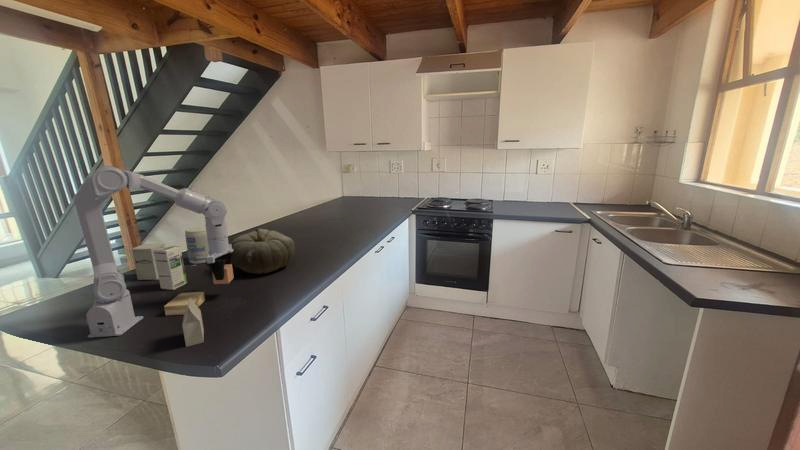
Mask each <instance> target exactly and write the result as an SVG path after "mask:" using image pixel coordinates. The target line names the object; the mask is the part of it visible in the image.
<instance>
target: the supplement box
mask: <svg viewBox="0 0 800 450" xmlns="http://www.w3.org/2000/svg"><path fill="white" fill-rule="evenodd" d="M164 247H166V246H165V243H142V244H140V245H139V246H135V247H132V248H131V253H132V257H133V263H134V266H135V268H134V269H135V272H136V278H137V280H138V281H140V280H142V281H144V280H146V281H147V280H148V281H149V280H150V281H151V280H155V281H157V280H159V277H158V272H157V268H156V263H155V258H154V253H153V251H154V250H157V249H160V248H164Z"/></svg>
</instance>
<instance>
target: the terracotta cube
mask: <svg viewBox="0 0 800 450" xmlns="http://www.w3.org/2000/svg"><path fill="white" fill-rule="evenodd" d="M211 273H212V280H213V284H214V285H223V284H224V285H226V284H230V283H231V281H232V280H233V279H234V269H233V264H232V263H231V264H226V265H225V266H224V279H223V280H216V279H215V277H214V274H213V272H212V271H211Z"/></svg>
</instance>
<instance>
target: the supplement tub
mask: <svg viewBox="0 0 800 450" xmlns="http://www.w3.org/2000/svg"><path fill="white" fill-rule="evenodd" d="M184 233H185V234H184V235H185V236H184V237H185V243H186V250H187V256H188V262H189V263H190V264H193V265H197V264H204V263H205V264H206V262H205V261H206V257H207V256H208V252H209V246H208V239H207V232H206V226H195V227H189V228H187V229H185V230H184Z"/></svg>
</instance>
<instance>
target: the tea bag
mask: <svg viewBox="0 0 800 450" xmlns="http://www.w3.org/2000/svg"><path fill="white" fill-rule="evenodd" d="M202 317H203V316H202V311H201V309H200V308H199V307H197V306H196V305H195V304H194V302H193V301H192V300H191V298H190V299H189V301H188V305H187V307H186V310H185V312H184V314H183V318H182V331H183V337H184V342H185V347H186V348H187V347H190V346H194V345H197V344H198V345H199V344H201V343H204V334H205V329H204V323H203V318H202Z"/></svg>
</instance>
